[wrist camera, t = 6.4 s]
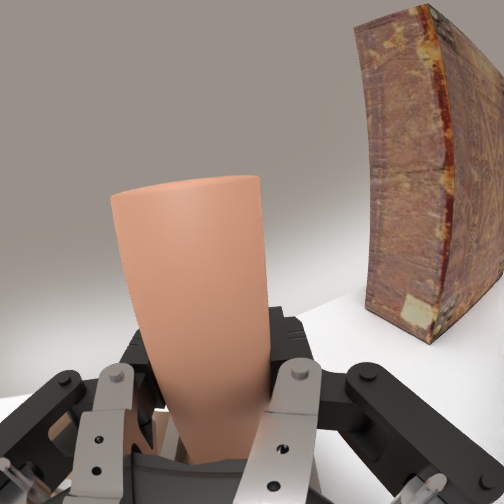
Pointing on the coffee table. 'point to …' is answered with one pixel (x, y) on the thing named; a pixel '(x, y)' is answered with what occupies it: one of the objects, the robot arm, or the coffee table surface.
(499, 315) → the coffee table surface
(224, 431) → the terracotta pin
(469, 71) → the book
